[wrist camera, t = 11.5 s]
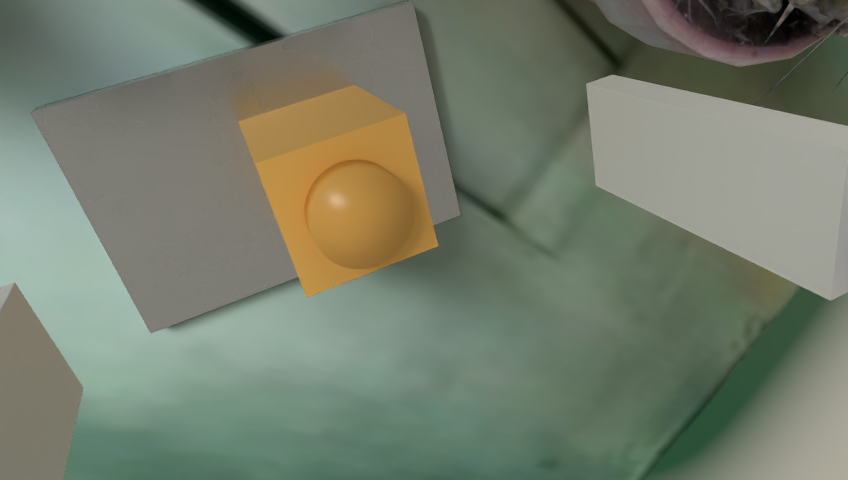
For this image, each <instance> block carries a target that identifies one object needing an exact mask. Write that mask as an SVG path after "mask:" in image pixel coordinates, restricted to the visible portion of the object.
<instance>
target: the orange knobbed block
mask: <svg viewBox="0 0 848 480" xmlns="http://www.w3.org/2000/svg"><path fill="white" fill-rule="evenodd" d="M238 122H239V125H240V127H241V130H242V133H243V135H244V138H245V140H246V143H247V146H248V148H249V151H250V154H251V156H252V159H253V161H254V164H255V167H256V169H257V172H258V174H259V177H260V180H261V182H262V185H263V188H264V190H265V193H266V195H267V198H268V201H269V203H270V206H271V208H272V211H273V214H274V216H275V219H276V221H277V224H278V227H279V229H280V232H281V234H282V237H283V239H284V242H285V244H286V247H287V249H288V252H289V254H290V257H291V260H292V262H293V265H294V267H295V270H296V272H297V275H298V277H299V280H300V282H301V285H302V287H303V290H304V292H305V295H306V297H309V296H312V295H315V294H317V293H320V292H322V291H325V290H327V289H330V288H333V287H335V286H338V285H340V284H343V283H345V282H348V281H350V280H353V279H356V278H358V277H361V276H363V275H366V274H368V273H371V272H374V271H376V270H379V269H381V268H384V267H386V266H389V265H392V264H394V263H397V262H399V261H402V260H404V259H407V258H409V257H412V256H415V255H417V254H420V253H422V252H425V251H427V250H430V249H433V248H435V247H438V242H437V238H436V234H435V230H434V226H433V222H432V218H431V214H430V210H429V206H428V202H427V198H426V194H425V190H424V186H423V182H422V178H421V174H420V170H419V165H418V161H417V157H416V153H415V149H414V145H413V141H412V137H411V133H410V129H409V125H408V121H407V117H406V114H405V113H404V112H402V111H400V110H398V109H397V108H395V107H393V106H391V105H390V104H388V103H386V102H384V101H382V100H381V99H379V98H377V97H375V96H374V95H372V94H370V93H368V92H366V91H365V90H363V89H361V88H359V87H358V86H356V85H353V86H350V87H346V88H343V89H340V90H337V91H334V92H330V93H327V94H324V95H321V96H318V97H315V98H311V99H308V100H305V101H302V102H299V103H295V104H292V105H289V106H286V107H283V108H280V109H276V110H273V111H270V112H267V113H264V114H260V115H257V116H254V117H251V118H248V119H245V120H241V121H238Z"/></svg>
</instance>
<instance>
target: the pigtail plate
mask: <svg viewBox="0 0 848 480" xmlns="http://www.w3.org/2000/svg"><path fill="white" fill-rule="evenodd" d="M353 85H356V86H358V87H359V88H361V89H363V90H365V91H366V92H368V93H370V94H372V95H374V96H375V97H377V98H379V99H381V100H382V101H384V102H386V103H388V104H390V105H391V106H393V107H395V108H397V109H398V110H400V111H402V112H404V113H405V114H406V117H407V121H408V125H409V129H410V133H411V137H412V141H413V145H414V149H415V153H416V157H417V161H418V165H419V170H420V174H421V178H422V182H423V186H424V190H425V194H426V198H427V202H428V206H429V210H430V214H431V218H432V222H433V226H434V225H436V224H439V223H441V222H444V221H447V220H449V219H452V218H455V217H457V216H460V215H461V214H460V210H459V205H458V201H457V196H456V192H455V187H454V183H453V178H452V174H451V169H450V165H449V160H448V156H447V151H446V147H445V142H444V138H443V134H442V129H441V125H440V120H439V116H438V111H437V107H436V102H435V98H434V93H433V89H432V84H431V80H430V75H429V71H428V66H427V62H426V57H425V53H424V49H423V44H422V40H421V35H420V31H419V26H418V22H417V17H416V13H415V8H414V4H413V2H410V1H404V2H401V3H397V4H394V5H390V6H387V7H384V8H380V9H377V10H373V11H370V12H366V13H363V14H359V15H356V16H352V17H349V18H345V19H342V20H339V21H335V22H332V23H328V24H325V25H321V26H318V27H314V28H311V29H307V30H304V31H300V32H297V33H293V34H290V35H287V36H283V37H280V38H276V39H273V40H269V41H266V42H262V43H259V44H255V45H252V46H248V47H245V48H242V49H238V50H235V51H231V52H228V53H224V54H221V55H217V56H214V57H210V58H207V59H203V60H200V61H197V62H193V63H190V64H186V65H183V66H179V67H176V68H172V69H169V70H165V71H162V72H158V73H155V74H151V75H148V76H145V77H141V78H138V79H134V80H131V81H127V82H124V83H120V84H117V85H113V86H110V87H106V88H103V89H100V90H96V91H93V92H89V93H86V94H82V95H79V96H75V97H72V98H68V99H65V100H61V101H58V102H55V103H51V104H48V105H44V106H41V107H37V108H35V109H34V110H33V111H32V112H30V113H31V115H32V116H33V118H34V120H35V122H36V124H37V126H38V127H39V129H40V131H41V133H42V135H43V137H44V138H45V140H46V142H47V144H48V146H49V148H50V149H51V151H52V153H53V155H54V157H55V159H56V160H57V162H58V164H59V166H60V168H61V170H62V171H63V173H64V175H65V177H66V179H67V181H68V182H69V184H70V186H71V188H72V190H73V192H74V193H75V195H76V197H77V199H78V201H79V203H80V204H81V206H82V208H83V210H84V212H85V214H86V216H87V217H88V219H89V221H90V223H91V225H92V227H93V228H94V230H95V232H96V234H97V236H98V238H99V239H100V241H101V243H102V245H103V247H104V249H105V250H106V252H107V254H108V256H109V258H110V260H111V261H112V263H113V265H114V267H115V269H116V271H117V272H118V274H119V276H120V278H121V280H122V282H123V283H124V285H125V287H126V289H127V291H128V293H129V294H130V296H131V298H132V300H133V302H134V304H135V305H136V307H137V309H138V311H139V313H140V315H141V316H142V318H143V320H144V322H145V324H146V326H147V328H148V329H149V331H150V333H153V332H156V331H159V330H161V329H164V328H166V327H169V326H172V325H174V324H177V323H180V322H182V321H185V320H187V319H190V318H193V317H195V316H198V315H200V314H203V313H206V312H208V311H211V310H214V309H216V308H219V307H221V306H224V305H227V304H229V303H232V302H235V301H237V300H240V299H242V298H245V297H248V296H250V295H253V294H255V293H258V292H261V291H263V290H266V289H269V288H271V287H274V286H276V285H279V284H282V283H284V282H287V281H290V280H292V279H295V278H297V277H298V275H297V272H296V270H295V267H294V265H293V262H292V260H291V257H290V254H289V252H288V249H287V247H286V244H285V242H284V239H283V237H282V234H281V232H280V229H279V227H278V224H277V221H276V219H275V216H274V214H273V211H272V208H271V206H270V203H269V201H268V198H267V195H266V193H265V190H264V188H263V185H262V182H261V180H260V177H259V174H258V172H257V169H256V167H255V164H254V161H253V159H252V156H251V154H250V151H249V148H248V146H247V143H246V140H245V138H244V135H243V133H242V130H241V127H240V125H239V122H238V121H241V120H245V119H248V118H251V117H254V116H257V115H260V114H264V113H267V112H270V111H273V110H276V109H280V108H283V107H286V106H289V105H292V104H295V103H299V102H302V101H305V100H308V99H311V98H315V97H318V96H321V95H324V94H327V93H330V92H334V91H337V90H340V89H343V88H346V87H350V86H353Z"/></svg>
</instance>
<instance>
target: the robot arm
mask: <svg viewBox="0 0 848 480" xmlns="http://www.w3.org/2000/svg"><path fill="white" fill-rule="evenodd" d="M586 87H587V98H588V108H589V119H590V129H591V140H592V150H593V161H594V171H595V182H596V186H598V187H600V188H602V189H604V190H606V191H608V192H610V193H612V194H614V195H616V196H618V197H620V198H622V199H624V200H626V201H628V202H630V203H632V204H634V205H636V206H639V207H641V208H643V209H645V210H647V211H649V212H651V213H653V214H655V215H657V216H659V217H661V218H663V219H665V220H667V221H669V222H671V223H673V224H675V225H677V226H679V227H681V228H683V229H685V230H687V231H689V232H691V233H694V234H696V235H698V236H700V237H702V238H704V239H706V240H708V241H710V242H712V243H714V244H716V245H718V246H720V247H722V248H724V249H726V250H728V251H730V252H732V253H734V254H736V255H738V256H740V257H742V258H744V259H746V260H749V261H751V262H753V263H755V264H757V265H759V266H761V267H763V268H765V269H767V270H769V271H771V272H773V273H775V274H777V275H779V276H781V277H783V278H785V279H787V280H789V281H791V282H793V283H795V284H797V285H799V286H802V287H804V288H806V289H808V290H810V291H812V292H814V293H816V294H818V295H820V296H822V297H824V298H826V299H828V300H830V301H831V300H833V299H835V298H837V297H839V296H841V295H843V294H845V293H847V292H848V126H845V125H841V124H836V123H831V122H827V121H822V120H818V119H813V118H809V117H804V116H799V115H795V114H790V113H786V112H781V111H777V110H772V109H767V108H763V107H758V106H754V105H749V104H745V103H740V102H735V101H731V100H726V99H722V98H717V97H712V96H708V95H703V94H699V93H694V92H690V91H685V90H680V89H676V88H671V87H667V86H662V85H658V84H653V83H648V82H644V81H639V80H635V79H630V78H626V77H621V76H616V75H610V76H607V77H604V78H601V79H599V80H596V81H593V82H590V83H587V84H586ZM82 392H83V386H82V385H81V383H80V382H79V380H78V379H77V377H76V376H75V374H74V373H73V371H72V370H71V368H70V366H69V365H68V363H67V362H66V360H65V359H64V357H63V356H62V354H61V353H60V351H59V350H58V348H57V346H56V345H55V343H54V342H53V340H52V339H51V337H50V336H49V334H48V333H47V331H46V330H45V328H44V327H43V325H42V323H41V322H40V320H39V319H38V317H37V316H36V314H35V313H34V311H33V310H32V308H31V307H30V305H29V303H28V302H27V300H26V299H25V297H24V296H23V294H22V293H21V291H20V290H19V288H18V287H17V285H16V283H12V284H9V285H6V286H4V287H1V288H0V480H63V477H64V472H65V468H66V463H67V459H68V454H69V450H70V445H71V441H72V436H73V432H74V427H75V423H76V418H77V414H78V409H79V405H80V401H81V396H82Z"/></svg>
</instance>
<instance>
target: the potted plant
mask: <svg viewBox="0 0 848 480" xmlns="http://www.w3.org/2000/svg"><path fill="white" fill-rule="evenodd" d="M588 1H590V2H592V3H594V4H596V5H597V7H598V8H599V9H600V11H601V12H602V13H603V15H604V16H605V18H606V19H607V20H608V22H609V23H611V24H613V25H615V26H616V27H618V28H620V29H621V30H623V31H625V32H626V33H628V34H630V35H632V36H633V37H635V38H637V39H638V40H640V41H642V42H643V43H645V44H647V45H650V46H654V47H658V48H662V49H666V50H670V51H675V52H679V53H683V54H687V55H691V56H695V57H700V58H704V59H708V60H712V61H716V62H720V63H725V64H729V65H733V66H737V67H742V66H748V65H754V64H761V63H767V62H773V61H779V60H785V59H791V58H793V57H794V56H796V55H798V54H799V53H801V52H802V51H804V50H805V49H807V48H808V47H810V46H811V45H813V44H814V43H816V42H817V41H819V40H820V39H822V38H823V37H825V36H826V35H827V36H826V37H825V38H824V39H823V40H822V41H821V42H820V43H819V44H818V45H817V46H815V47H814V48H813V49H812V50H811V51H810V52H809V53H808V54H807V55H806V56H805V57H804V58H803V59H802V60H801V61H800V62H799V63H798V64H797V65H796V66H795V67H794V68H793V69H792V70H791V71H789V72H788V73H787V74H786V75H785V76H784V77H783V78H782V79H781V80H780V81H779V82H781V81H782V80H783V79H784V78H785V77H786V76H787V75H788V74H789V73H790V72H792V71H793V70H794V69H795V68H796V67H797V66H798V65H799V64H800V63H801V62H802V61H803V60H804V59H805V58H807V57H808V56H809V55H810V54H811V53H812V52H813V51H814V50H815V49H816V48H817V47H818V46H819V45H820V44H821V43H823V42H824V41H825V40H826V39H827V38H828V37H829V36H830V35H840V36H842V37H844V38H845V37H846V36H848V0H588ZM847 73H848V72H847ZM847 73H846V74H847ZM845 76H846V75H845ZM845 76H844V77H845ZM844 77H843V78H844ZM843 78H842V79H843ZM841 81H842V80H841ZM841 81H840V82H841ZM779 82H778V83H779ZM840 82H839V83H840ZM778 83H777V84H778ZM777 84H775V85H774V86H773V87H772V88H771V89H773V88H774V87H775V86H776V85H777ZM838 85H839V84H838ZM838 85H837V86H838ZM837 86H836V87H837ZM771 89H770V90H771ZM770 90H769V91H770ZM834 90H835V89H834ZM769 91H768V92H769ZM768 92H767V93H768ZM767 93H766V94H767ZM766 94H765V95H766ZM765 95H764V96H765ZM764 96H763V97H764ZM760 99H761V98H760ZM760 99H759V100H760ZM759 100H758V101H759ZM758 101H757V102H758ZM757 102H756V103H757ZM756 103H755V104H756ZM755 104H754V105H755Z"/></svg>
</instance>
